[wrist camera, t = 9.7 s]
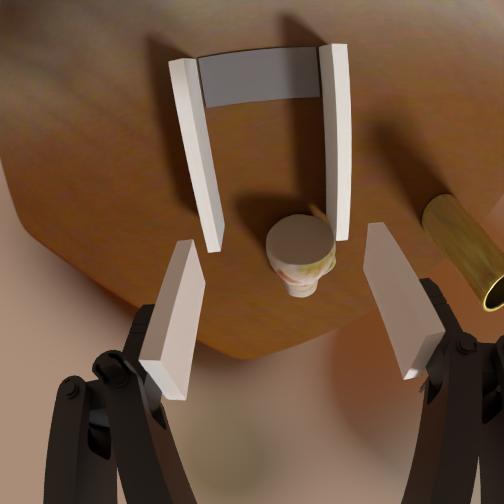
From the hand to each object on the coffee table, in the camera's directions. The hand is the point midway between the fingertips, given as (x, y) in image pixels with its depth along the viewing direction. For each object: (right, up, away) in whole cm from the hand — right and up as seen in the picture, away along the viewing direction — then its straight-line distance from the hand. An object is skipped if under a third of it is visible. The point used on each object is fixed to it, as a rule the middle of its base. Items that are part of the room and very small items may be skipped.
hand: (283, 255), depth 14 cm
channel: (0, +11, +13) cm, 17 cm away
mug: (+4, +1, +21) cm, 22 cm away
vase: (+22, +5, +18) cm, 29 cm away
